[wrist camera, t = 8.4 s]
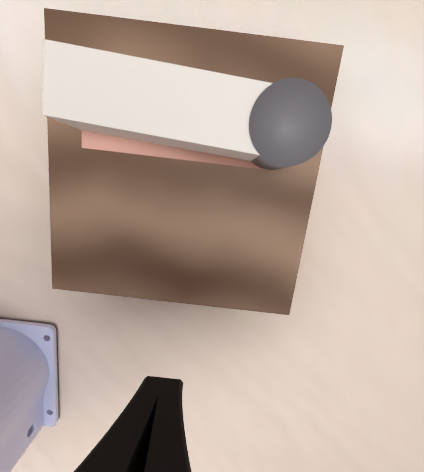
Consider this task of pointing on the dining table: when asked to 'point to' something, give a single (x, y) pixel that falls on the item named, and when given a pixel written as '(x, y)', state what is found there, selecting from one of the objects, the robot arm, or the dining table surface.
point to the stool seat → (180, 182)
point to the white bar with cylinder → (185, 106)
